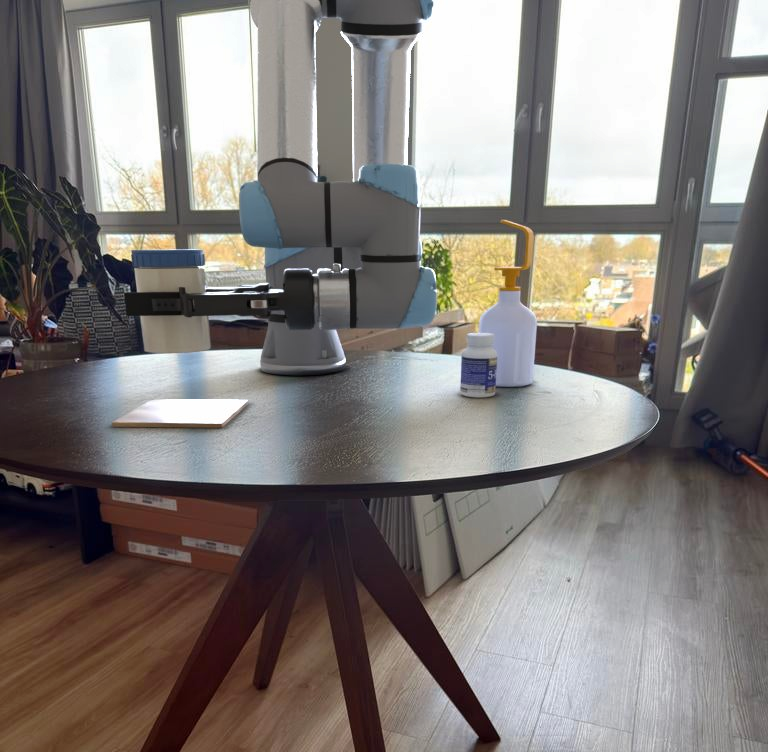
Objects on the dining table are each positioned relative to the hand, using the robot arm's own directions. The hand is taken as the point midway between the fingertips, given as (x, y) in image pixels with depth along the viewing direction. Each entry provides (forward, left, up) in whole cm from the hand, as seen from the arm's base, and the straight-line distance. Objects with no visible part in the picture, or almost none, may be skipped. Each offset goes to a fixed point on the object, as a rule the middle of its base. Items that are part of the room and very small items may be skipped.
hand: (135, 301), depth 91 cm
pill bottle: (-16, +45, -15) cm, 50 cm away
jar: (-1, +5, -6) cm, 8 cm away
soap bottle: (-26, +50, -15) cm, 58 cm away
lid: (-1, +5, +6) cm, 7 cm away
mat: (-1, +5, -15) cm, 15 cm away
